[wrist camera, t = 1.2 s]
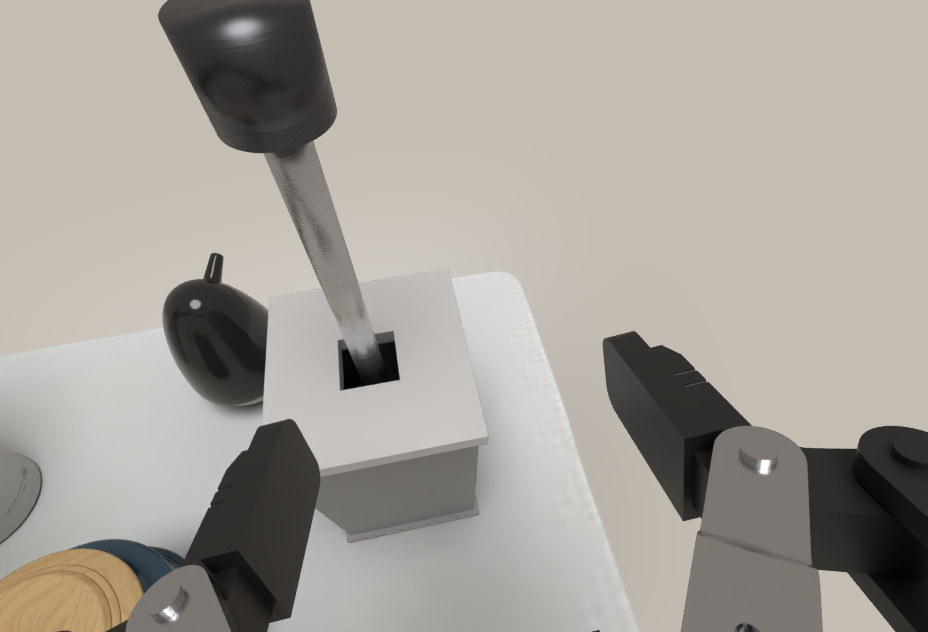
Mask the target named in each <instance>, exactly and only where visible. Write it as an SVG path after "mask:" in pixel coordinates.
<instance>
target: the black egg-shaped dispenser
mask: <svg viewBox="0 0 928 632" xmlns="http://www.w3.org/2000/svg"><path fill="white" fill-rule="evenodd" d="M222 267H223V256H222V255H221V254H218V253H212V254H211V255H210V258H209V262H208V265H207V268H206V272H205V275H204V278H203V279H196V280H190V281H187V282H184V283H182V284H180V285H178V286H177V287H175V288H174V289H173V290H172V291H171V292H170V293H169V295H168V296H167V298H166V300H165V303H164V307H163V317H162V319H163V328H164V333H165V337H166V340H167V343H168V346H169V349H170V351H171V354H172V356H173V358H174V361H175V363H176V365H177V366H178V368H179V370H180V371H181V373H182V374H183V376H184V377H185V379H186V380H187V382H188V383H189V384H190V385H191V387H192V388H193V389H194V390H195V391H196V392H197V393H198V394H199V395H200V396H202V397H203V398H204V399H206V400H208V401H210V402H212V403H215V404H219V405H232V406H245V405H251V404H255V403H258V402H260V401H263V398H264V381H265V364H266V346H267V329H268V312H269V310H267V309H266V308H265V307H264V306H263V305H261V304H260V303H259V302H258V301H256V300H255V299H253V298H252V297H250V296H248V295H247V294H245V293H243V292H242V291H239V290H238V289H236V288H233V287H231V286H229V285H226V284H223V283H222V282H221V278H222Z"/></svg>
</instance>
